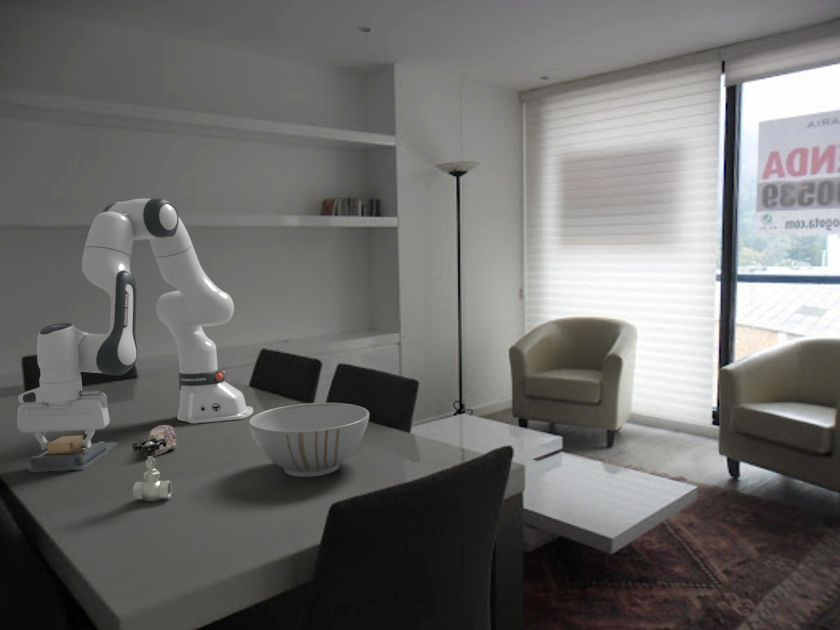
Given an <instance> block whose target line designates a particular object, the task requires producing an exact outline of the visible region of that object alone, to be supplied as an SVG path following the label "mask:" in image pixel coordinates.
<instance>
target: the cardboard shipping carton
mask: <svg viewBox="0 0 840 630" xmlns="http://www.w3.org/2000/svg"><path fill="white" fill-rule="evenodd" d="M83 440H84V435H83V434H82V435H65V436H64V435H63V436H60V437H58V438H56V439H55V440H53V441H51V443H49V444H48V453H49V456H51V455H72V454H81V453H83V452H84V448H82V444H81V441H83Z"/></svg>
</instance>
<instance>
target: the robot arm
mask: <svg viewBox="0 0 840 630" xmlns="http://www.w3.org/2000/svg"><path fill="white" fill-rule="evenodd" d="M93 219H94V220H93V221H92V223H91V226H90V229H89V231H88V233H87V236H86V237H87V238H86V241H85V244H84V250H83V254H82V258H81V259H82V260H81V270H82V273H83V275H84V276H85V277H86V279H87V280H88V281H89V282H90V283H91V284H93V285H94V286H97V287H98V288H99V289H102V290H104V291H106V293H107V294H108V295H109V298H110V320H109V321H110V323H109V330H108V332H107V333H105V334H104V333H102V334H101V333H90V332H86V331H83V330H81V329H78V328H77V327H75V325H74V324H73V323H69V322H62V323H56V324H49V325H47V326H44V327H43V328H41V330H39V332H38V335H37V339H36V340H37V341H36V356H37V366H38V368H39V370H40V377H39V382H38V383H39V386H37V387H36V386H35V387H33V388H32V389H30V390H27V391H25V392H23V393H20V394H19V395H18V402H19V403H20V405H19V406H18V408H17V417H16V418H17V420H16V422H17V423H16V424H17V429H18V431H19V432H20V433H22V434H28V433H33V434H34V437H35V439H36V440H37V441H38V442H39V444H40V448H41V451H47V450H48V444H49V443H51V442H52V441H51V440H47V438H46V436H44V435H46V433H49V432H69V431H70V432H71V431H72V432H73V431H74V432H75V431H84V434H85V435H86V438H85V439H83V441H81V444H82V448H89V447H91V443H92V438H93V436H94V434H95V432H96V430H103V429H105V428H106V427H108V425H109V424H110V422H111V421H110V415H109V409H108V397H107V395H106V394H105V393H104V392H102V391H101V390H99V389H98V390H95V389H94V390H83V384H82V383H83V382H82V381H83V380H82V375H81V373H82V372H83V373H94V374H95V373H96V374H106V375H112V376H123V375H126V373H128V372H129V371H130V370H131V369H132V368H133V367H134V365H135V363H136V362H137V358H138V345H137V338H136V331H137V330H136V329H137V327H136V325H137V299H138V298H137V297H138V296H137V293H138V290H137V283H136V278H135V277H134V275H133V274H132V272H131V258H132V253H133V252H132V251H133V242H134V241H145V240H148V241H149V243H150V246H151V250H152V252H153V255H154V259H155V261H156V263H157V266H158V269H159V271H160V274H161V276H162V278H163V280H164V282H165V283H167V284H169V285H170V286H172V287H174V288H175V289H176V290H174V291H173V290H172V291H170V292H169V291H168V292H165V293H163V294H161V295H160V296H159V298H158V299H157V301H156V304H155V312H156V315H157V318H158V319H159V321H161V322H162V323H163V324H164V325H165V326H166V327H167V329H168V330H169V332H170V333H171V335H172V337H173V339H174V342H175V344H176V348H177V354H178V355H177V356H178V364H179V366H178V367H179V372H178V388H179V391H180V395H179V396H180V397H179V407H178V414H177V417H176V419H177V420H179V421H182V422H187V423H189V424H200V423H201V424H203V423H214V422H215V423H216V422H224V421H235V420H236V421H237V420H242V419H246V418H248V417H251V415H252V414H253V413H254V408H253V407H252V406H247V404H246V400H245V396H244V393H242V391H241V390H239V389H238V388H236V387H235V386H233V385H231V384H229V383H228V382H227V381H225V380H226V378H225V377H226V376H225V375H226V374H225V373H226V371H225V370H223V371H222V370H221V369H219V368H218V354H217V353H218V352H217V345H216V344H215V342H214V341H213V340H212V339H211V338H209V337H207V335H206V333H205V331H204V329H203V327H215V326H216V327H217V326H220V325H224V324H227V323H229V322H230V320H231V319H232V317H233V315H234V312H235V303H234V301H233V299H232V297H231V295H230V294H228V293H227V292H225V291H224V290H222V289H220V288H219V287H218V286H217V285H216V284H214V282H213V281H212V280H211V279H210V277H209V276H208V275H207V274H206V272H205V271H204V269H203V268H202V266H201V263H200V260H199V259H198V256H197V253H196V250H195V247H194V244H193V242H192V240H191V237H190V234H189V233H188V230H187V228H186V226H185V225H184V223H183V221H182V219H181V218H180V217H179V213H178V211H177V209H176V207H175V206H174V205H173V204H172V202H170V200H167V199H165V198H159V197H153V198H134V199H130V200H125V201H115V202H112V203H109V204H108V205H107V206H105V207H104V208H103V210H102V212H100V213H99V214H97V215H96V216H95V217H94V218H93Z"/></svg>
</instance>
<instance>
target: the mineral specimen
mask: <svg viewBox="0 0 840 630" xmlns="http://www.w3.org/2000/svg"><path fill="white" fill-rule="evenodd" d="M147 438H148V440H151V438H157V440H159V439H162V438H164V439H165V441H166V442H167V446H166V447H163V445H161V446H160V449H159V450H157V451H155V453H156V454H155V455H153V458H154V457H156V456H157V457H158V456H160V455H162V454H165V453H166V452H168V451H170V449H171V450H174V449H175V448H176V447H177V433H176V431H175V430H174V428H173V426H172V425H170V424H165V425H164V424H162V425H158V426H156V427H154V428H152V429H151V431H149V434H148V435H147ZM154 444H155V443H154Z"/></svg>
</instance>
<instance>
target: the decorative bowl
mask: <svg viewBox="0 0 840 630" xmlns="http://www.w3.org/2000/svg"><path fill="white" fill-rule="evenodd" d="M369 420H370V412H369V410H368V409H366V408H365V407H362V406H359V405H356V404H349V403H341V402H313V403H312V402H311V403H300V404H290V405H286V406H285V405H284V406H280V407H275V408H271V409H268V410H264V411H261V412H258V413H257V414H255V415H252V416H251V417H250V419H249V420H248V428H249V430H250V433H251V436H252V437H253V440H254V442H255V443H256V445H257V446H258V448H259V449H260V451H261V452H262V453H263V454H264V455H265V456H266V457H267V458H268V459H269V460H270V461H271V462H273V463H274V464H275V465H277V466H279V467H281V468H283V469H284V472H285V473H286V474H288V475H290V476H293V477H300V478H301V477H303V478H304V477H305V478H307V477H308V478H309V477H319V476H325V475H328V474H331V473H333V472H335V471H337V470H338V469H339V468H340V466H341V465H340V463H343V462H344V461H345V460H346V459H348V458H349V457H350V456H351V455H352V454H353V453H354V451H355V450H356V449H357V448H358V446H359V445H360V443H361V441H362V439H363V437H364V436H365V433H366V430H367V427H368V424H369Z"/></svg>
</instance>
